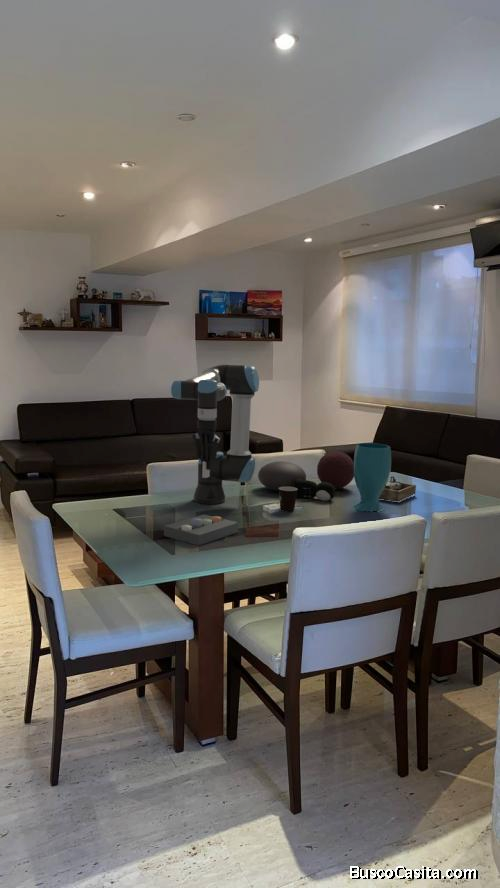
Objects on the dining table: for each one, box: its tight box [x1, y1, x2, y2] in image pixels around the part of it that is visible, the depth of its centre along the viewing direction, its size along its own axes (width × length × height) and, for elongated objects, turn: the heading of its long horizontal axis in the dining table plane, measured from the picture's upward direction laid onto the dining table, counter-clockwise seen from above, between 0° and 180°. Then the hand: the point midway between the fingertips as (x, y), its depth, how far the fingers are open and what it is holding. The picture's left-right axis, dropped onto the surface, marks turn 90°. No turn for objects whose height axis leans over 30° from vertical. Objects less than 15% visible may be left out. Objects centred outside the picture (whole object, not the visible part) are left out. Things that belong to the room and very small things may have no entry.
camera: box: [384, 474, 402, 491], centre depth 344 cm, size 15×8×10 cm, turn 144°
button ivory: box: [181, 525, 192, 531], centre depth 258 cm, size 4×4×4 cm
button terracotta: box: [211, 515, 222, 522], centre depth 272 cm, size 4×4×4 cm
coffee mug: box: [278, 487, 298, 512], centre depth 309 cm, size 12×9×10 cm
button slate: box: [192, 517, 202, 528], centre depth 262 cm, size 4×4×4 cm
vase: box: [352, 442, 392, 512], centre depth 315 cm, size 17×17×30 cm
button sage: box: [202, 519, 212, 525], centre depth 267 cm, size 4×4×4 cm
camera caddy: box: [379, 480, 417, 501], centre depth 341 cm, size 14×21×6 cm, turn 144°
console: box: [163, 513, 239, 546], centre depth 265 cm, size 18×24×4 cm
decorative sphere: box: [316, 450, 355, 490], centre depth 355 cm, size 20×20×20 cm
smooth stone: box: [257, 460, 307, 492], centre depth 347 cm, size 25×25×15 cm
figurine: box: [294, 479, 336, 502], centre depth 332 cm, size 9×9×20 cm
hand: (205, 477), depth 269 cm, fingers closed
